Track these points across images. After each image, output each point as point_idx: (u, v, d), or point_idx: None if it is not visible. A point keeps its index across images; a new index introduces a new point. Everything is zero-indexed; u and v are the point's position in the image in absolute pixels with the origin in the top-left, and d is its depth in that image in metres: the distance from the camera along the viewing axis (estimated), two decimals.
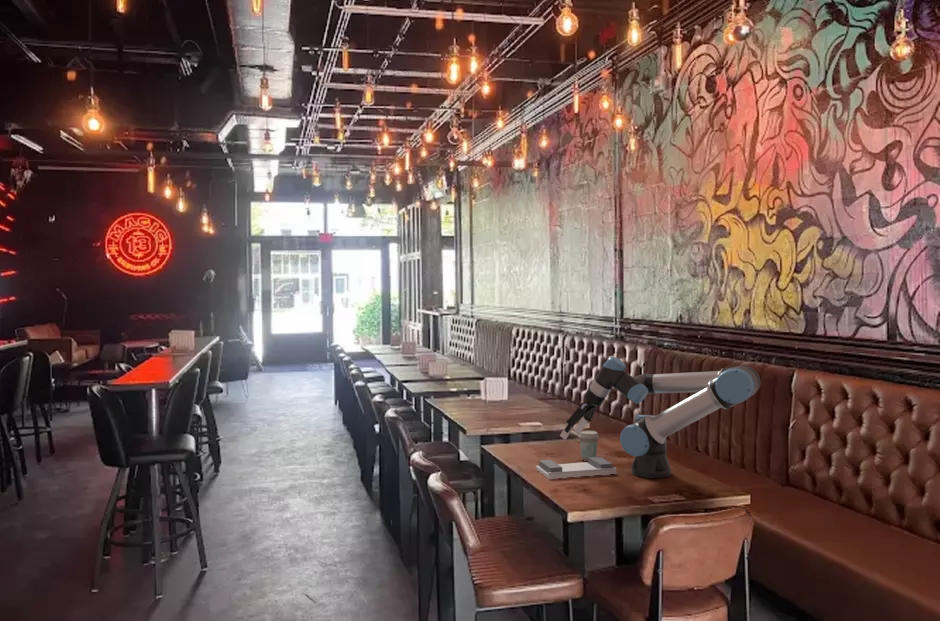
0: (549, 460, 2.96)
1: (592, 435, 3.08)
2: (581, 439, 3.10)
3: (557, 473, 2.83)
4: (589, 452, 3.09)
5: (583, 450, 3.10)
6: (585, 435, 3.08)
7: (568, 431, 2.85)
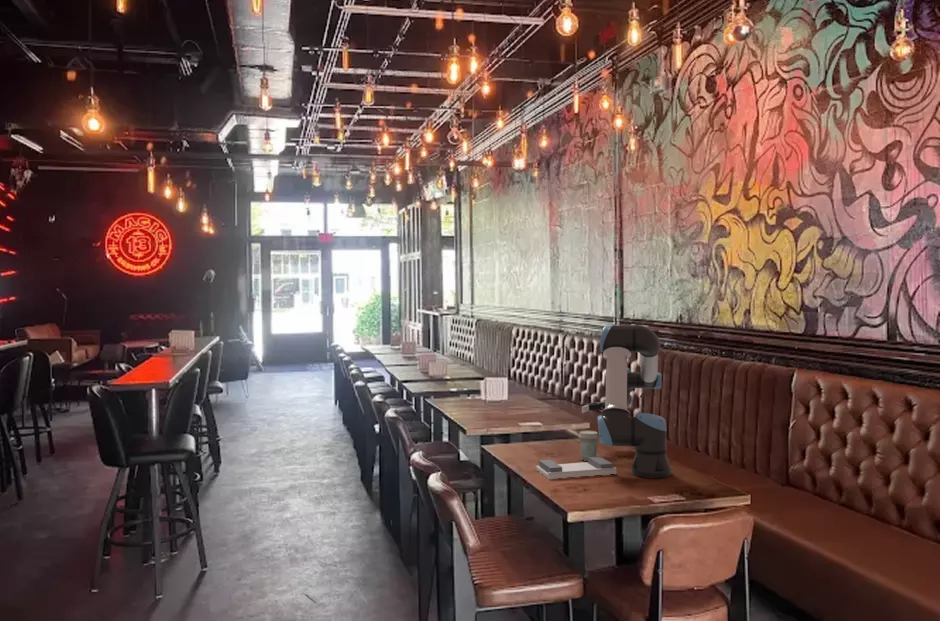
0: (549, 460, 2.96)
1: (592, 435, 3.08)
2: (581, 439, 3.10)
3: (557, 473, 2.83)
4: (589, 452, 3.09)
5: (583, 450, 3.10)
6: (585, 435, 3.09)
7: None
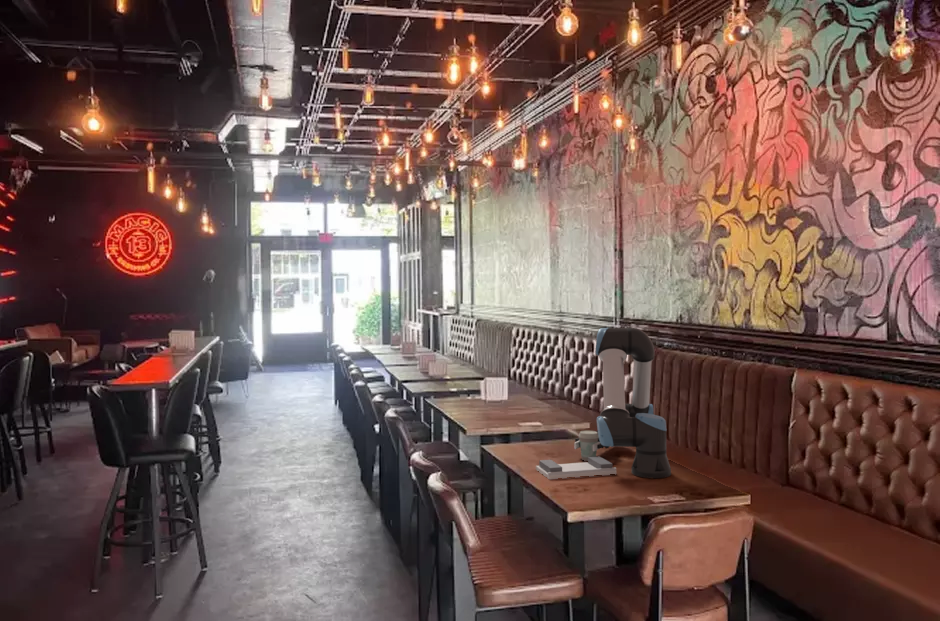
0: (549, 460, 2.96)
1: (592, 435, 3.08)
2: (581, 439, 3.10)
3: (557, 473, 2.83)
4: (589, 452, 3.09)
5: (583, 450, 3.10)
6: (585, 435, 3.08)
7: None
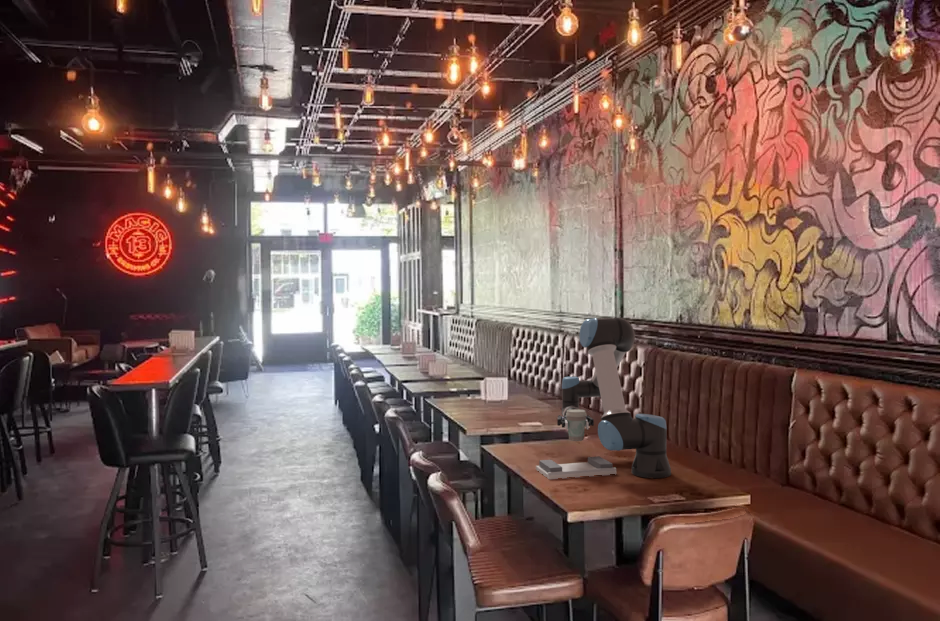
0: (549, 460, 2.96)
1: (583, 413, 2.97)
2: (572, 418, 2.97)
3: (557, 473, 2.83)
4: (581, 430, 2.97)
5: (574, 429, 2.97)
6: (577, 413, 2.96)
7: (565, 422, 2.99)
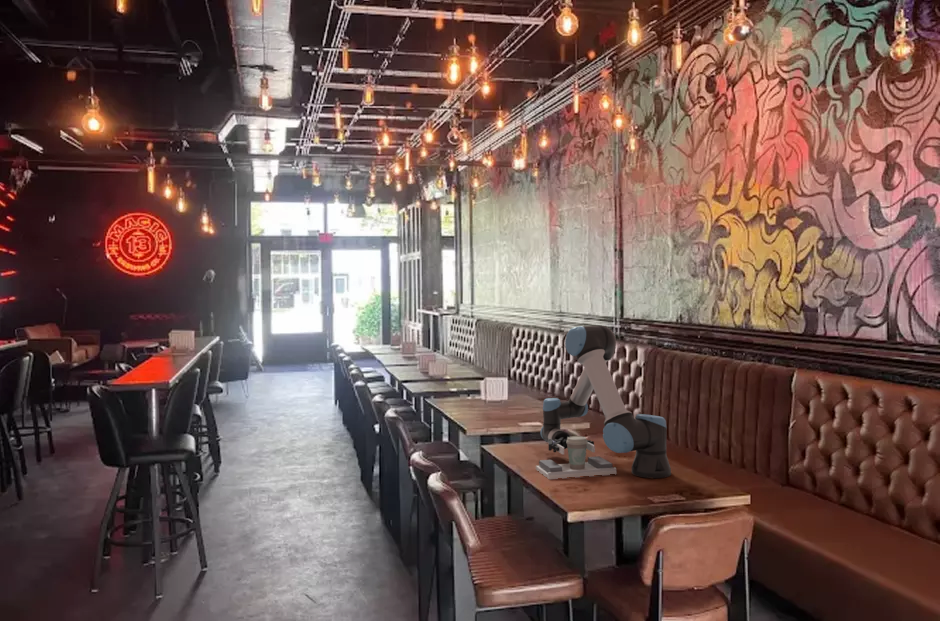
0: (549, 460, 2.96)
1: (586, 440, 2.91)
2: (575, 446, 2.89)
3: (557, 473, 2.83)
4: (583, 458, 2.91)
5: (577, 457, 2.90)
6: (580, 441, 2.89)
7: (558, 447, 2.91)
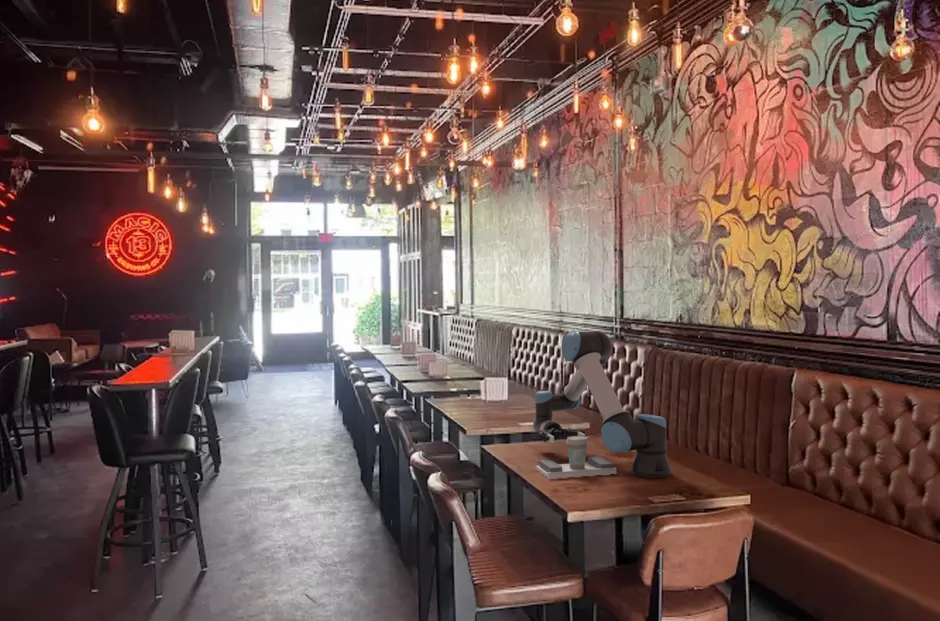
0: (549, 460, 2.96)
1: (585, 440, 2.91)
2: (575, 446, 2.89)
3: (557, 473, 2.83)
4: (583, 458, 2.91)
5: (577, 458, 2.90)
6: (580, 441, 2.89)
7: (548, 436, 3.01)
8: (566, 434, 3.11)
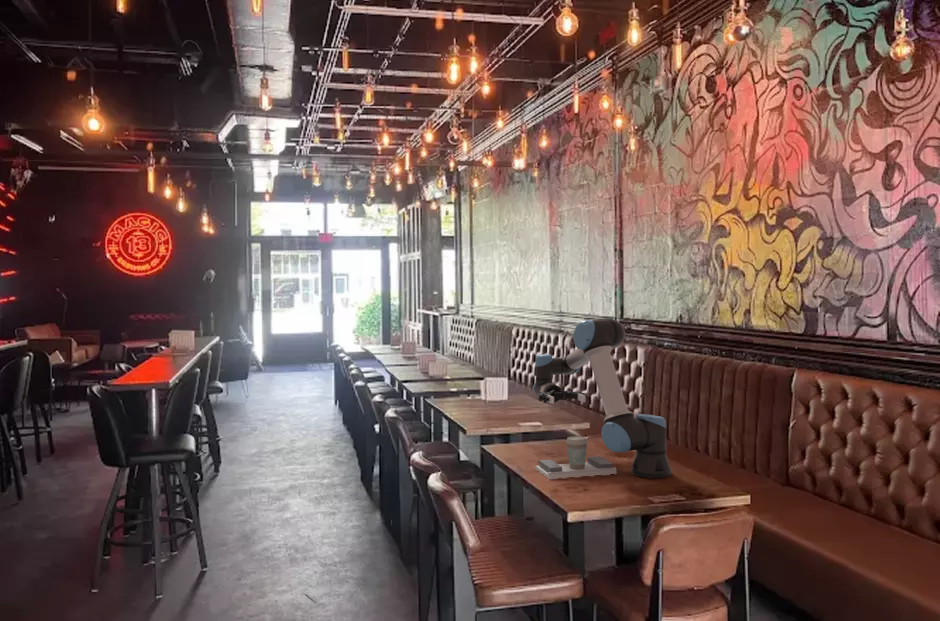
0: (549, 460, 2.96)
1: (585, 440, 2.91)
2: (575, 446, 2.89)
3: (557, 473, 2.83)
4: (583, 458, 2.91)
5: (577, 457, 2.90)
6: (581, 441, 2.89)
7: (549, 397, 3.00)
8: (566, 396, 3.10)
